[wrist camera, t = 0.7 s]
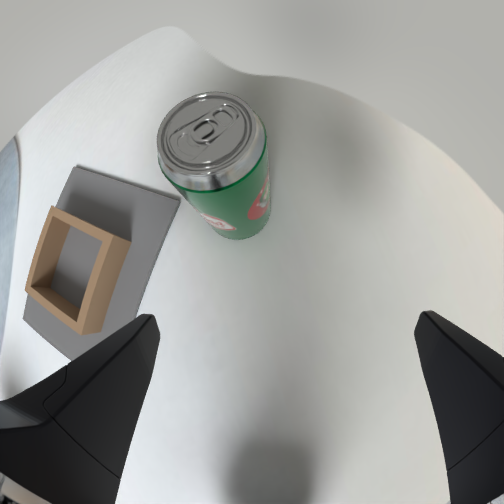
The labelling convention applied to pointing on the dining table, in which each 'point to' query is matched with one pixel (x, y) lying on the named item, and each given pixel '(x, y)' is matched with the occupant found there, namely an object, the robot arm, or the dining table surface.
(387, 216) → the dining table surface
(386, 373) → the dining table surface
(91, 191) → the can holder
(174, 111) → the soda can
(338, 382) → the dining table surface
